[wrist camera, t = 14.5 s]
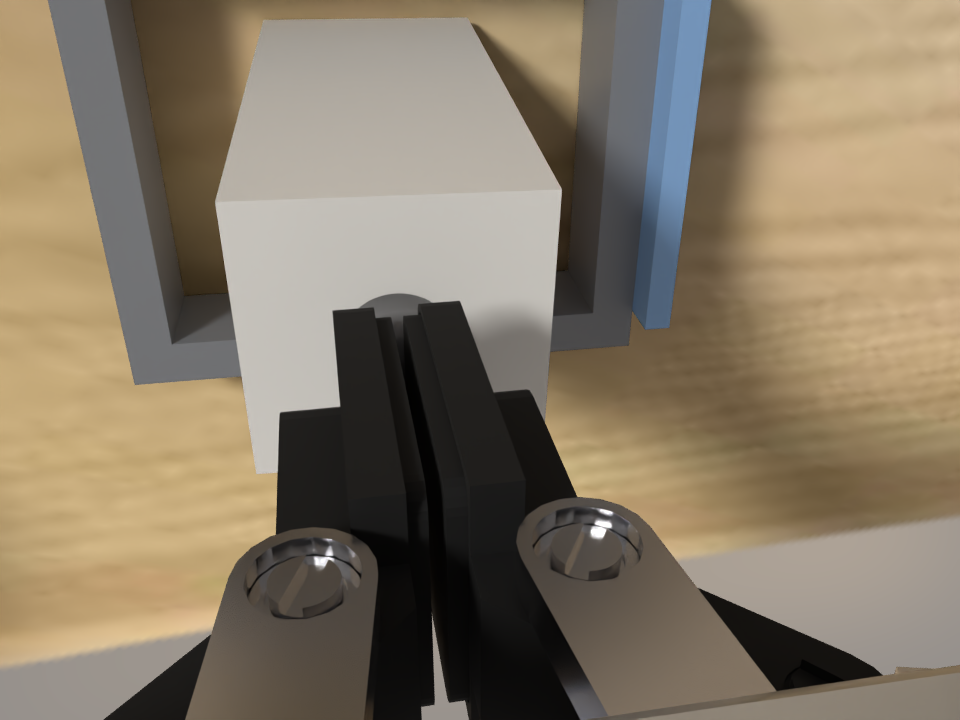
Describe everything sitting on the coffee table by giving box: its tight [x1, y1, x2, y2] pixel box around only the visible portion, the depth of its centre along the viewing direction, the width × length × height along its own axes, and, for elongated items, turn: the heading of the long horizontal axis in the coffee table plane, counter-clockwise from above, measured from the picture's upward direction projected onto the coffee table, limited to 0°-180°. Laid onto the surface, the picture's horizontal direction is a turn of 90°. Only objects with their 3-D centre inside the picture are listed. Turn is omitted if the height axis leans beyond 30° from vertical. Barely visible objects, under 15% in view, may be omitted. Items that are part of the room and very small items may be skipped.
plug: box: [215, 17, 562, 474], centre depth 17 cm, size 4×4×11 cm
